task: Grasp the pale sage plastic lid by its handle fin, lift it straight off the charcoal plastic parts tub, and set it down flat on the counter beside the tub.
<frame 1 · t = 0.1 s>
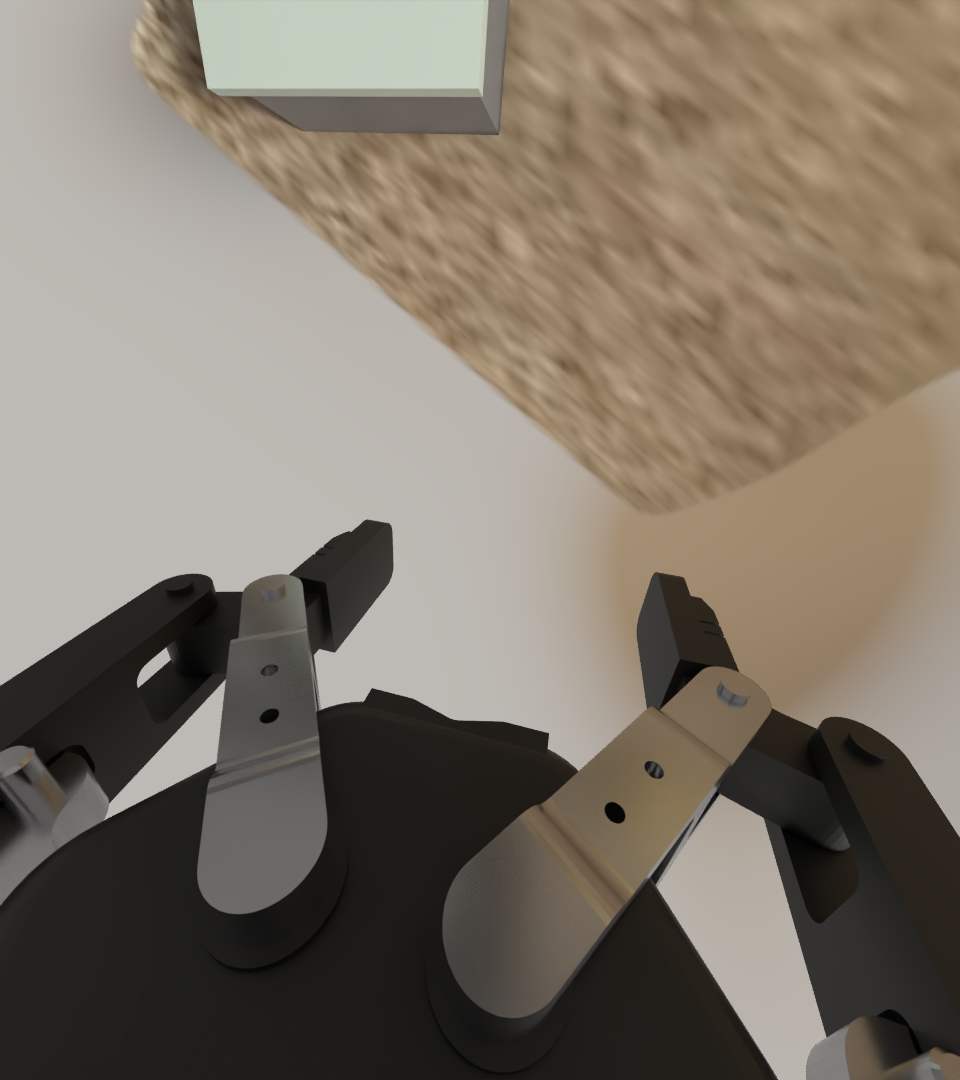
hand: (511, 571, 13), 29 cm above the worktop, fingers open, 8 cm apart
tub: (395, 17, 29), on the worktop
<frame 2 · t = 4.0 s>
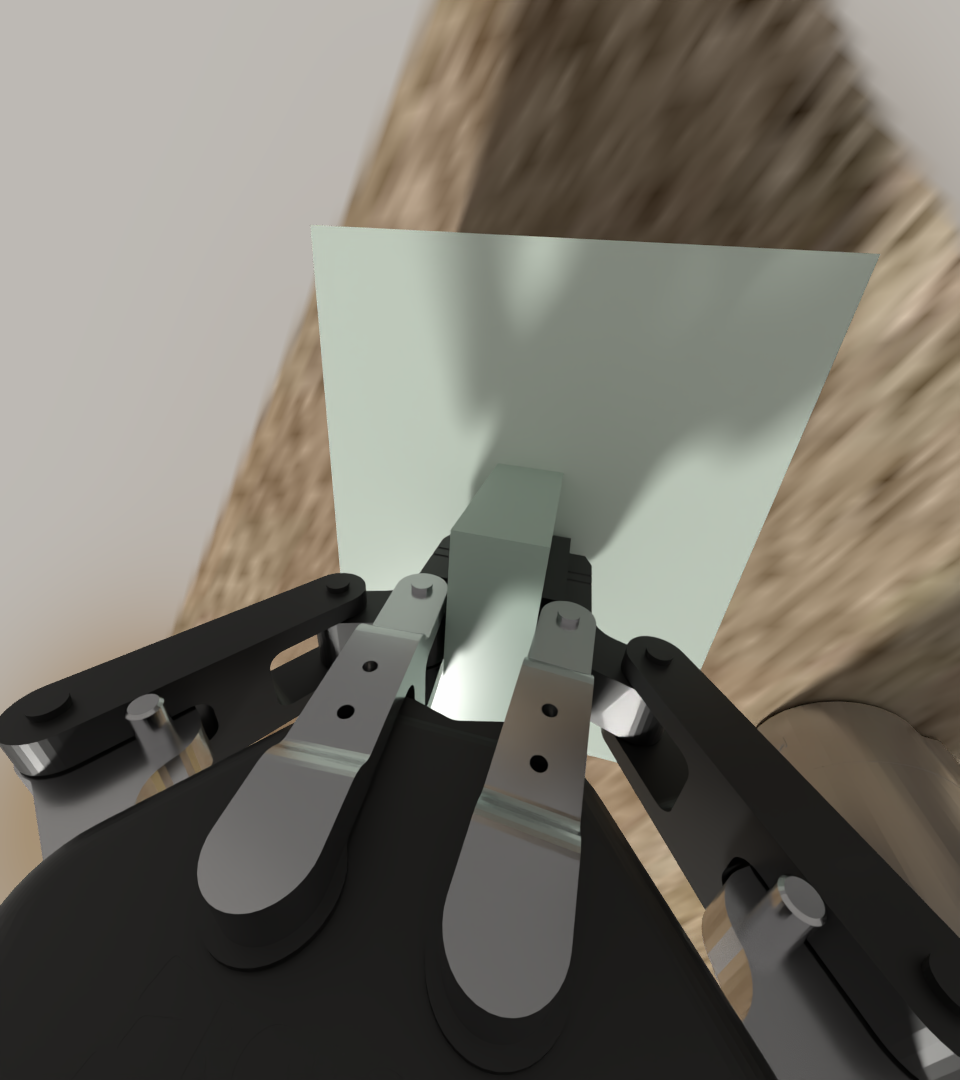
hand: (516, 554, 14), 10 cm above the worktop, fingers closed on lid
lid: (524, 534, 15), point 8 cm above the worktop, touching gripper
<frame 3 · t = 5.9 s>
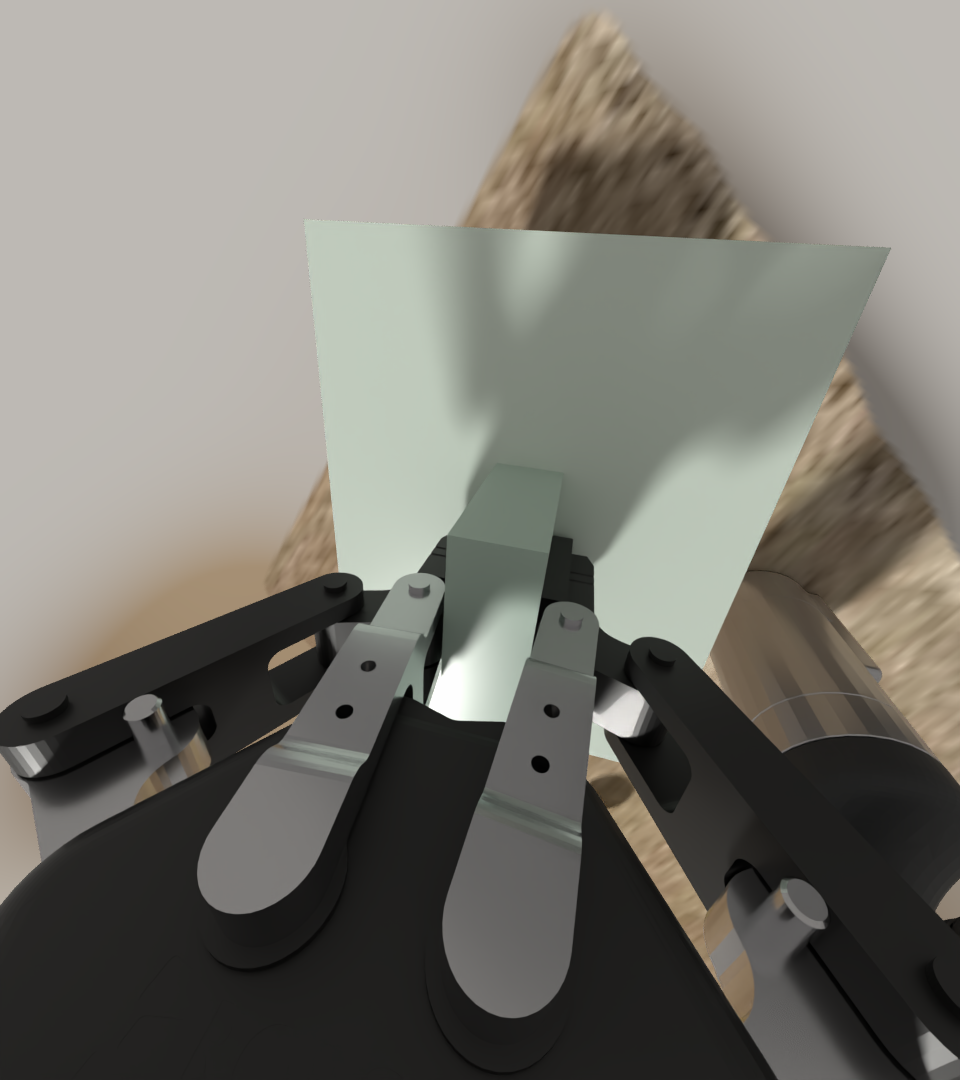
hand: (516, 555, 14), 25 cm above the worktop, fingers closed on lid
lid: (524, 534, 15), point 23 cm above the worktop, touching gripper
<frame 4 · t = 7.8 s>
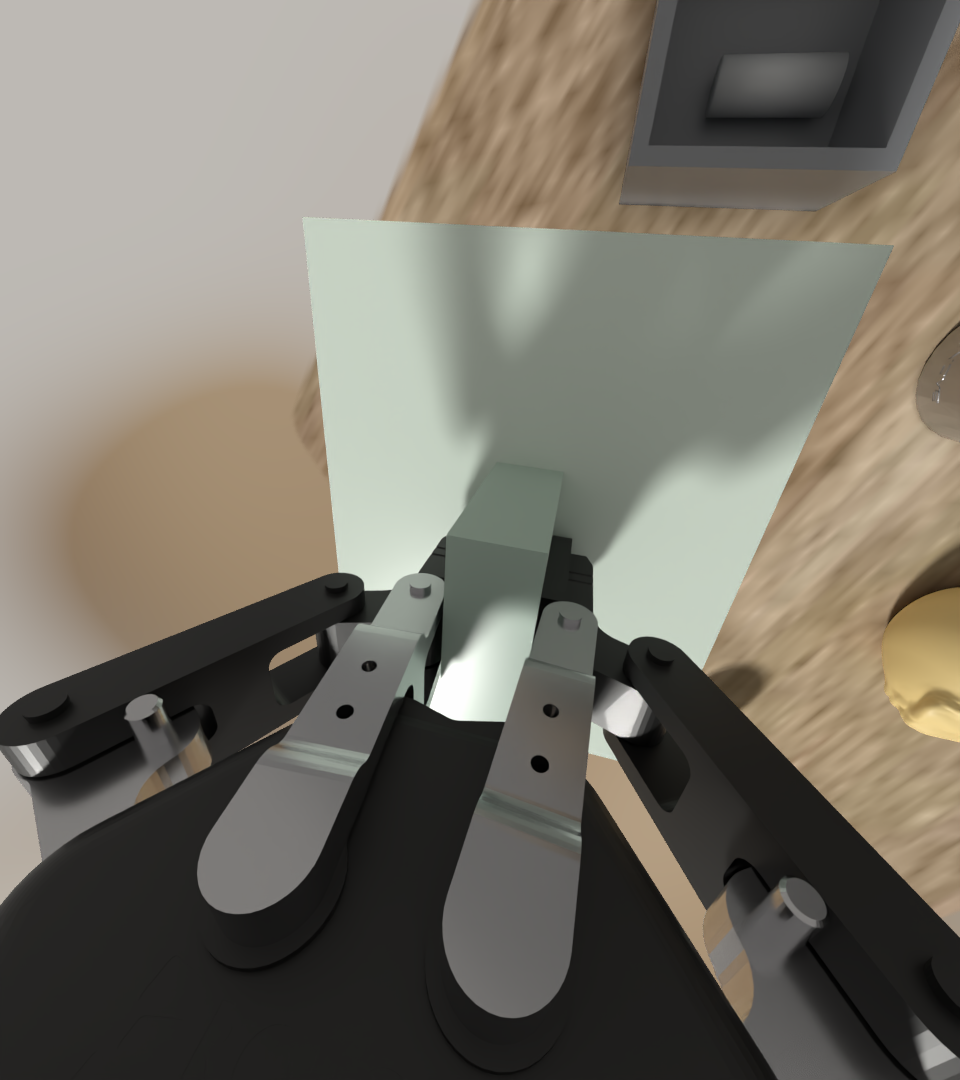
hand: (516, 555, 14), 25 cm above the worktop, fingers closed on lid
tub: (762, 27, 23), on the worktop
sculpture: (939, 626, 36), on the worktop
lid: (524, 533, 15), point 23 cm above the worktop, touching gripper
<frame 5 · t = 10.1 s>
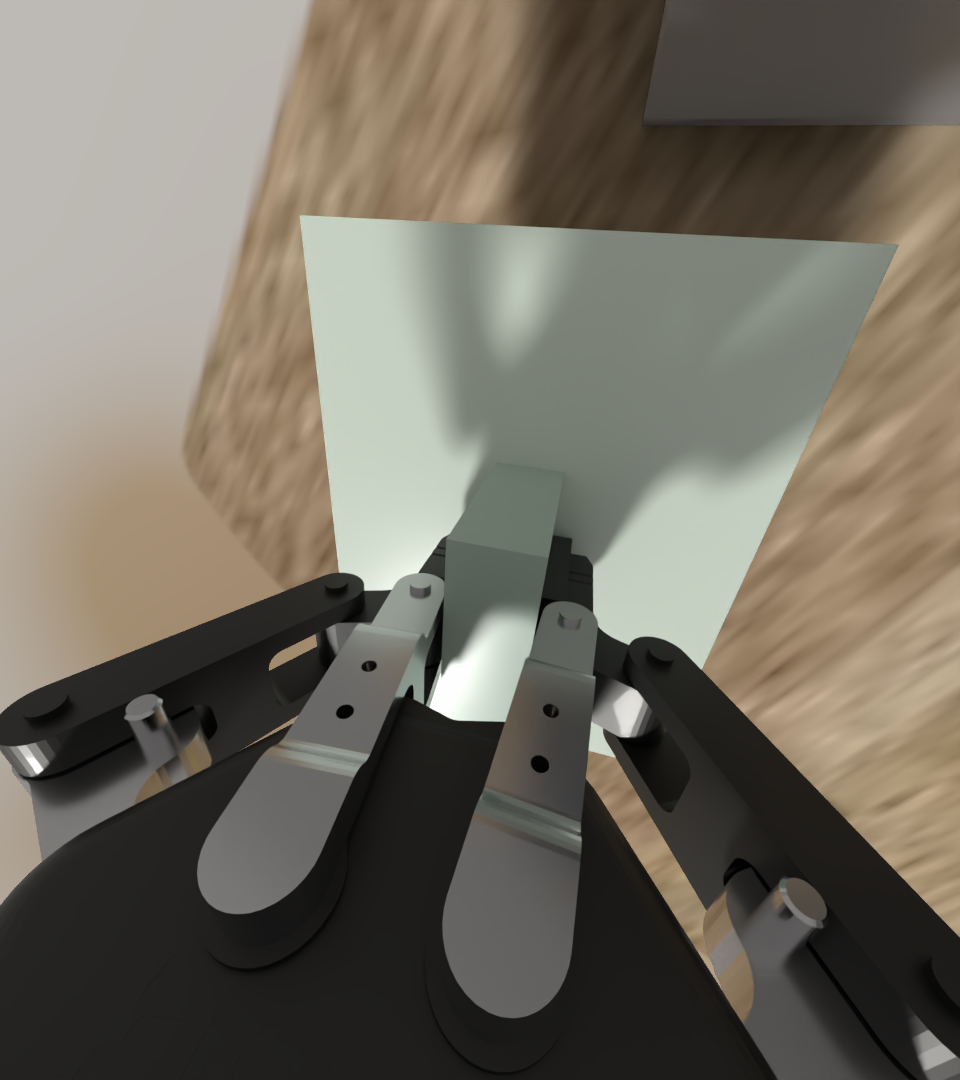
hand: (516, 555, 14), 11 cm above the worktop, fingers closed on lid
lid: (524, 532, 15), point 10 cm above the worktop, touching gripper
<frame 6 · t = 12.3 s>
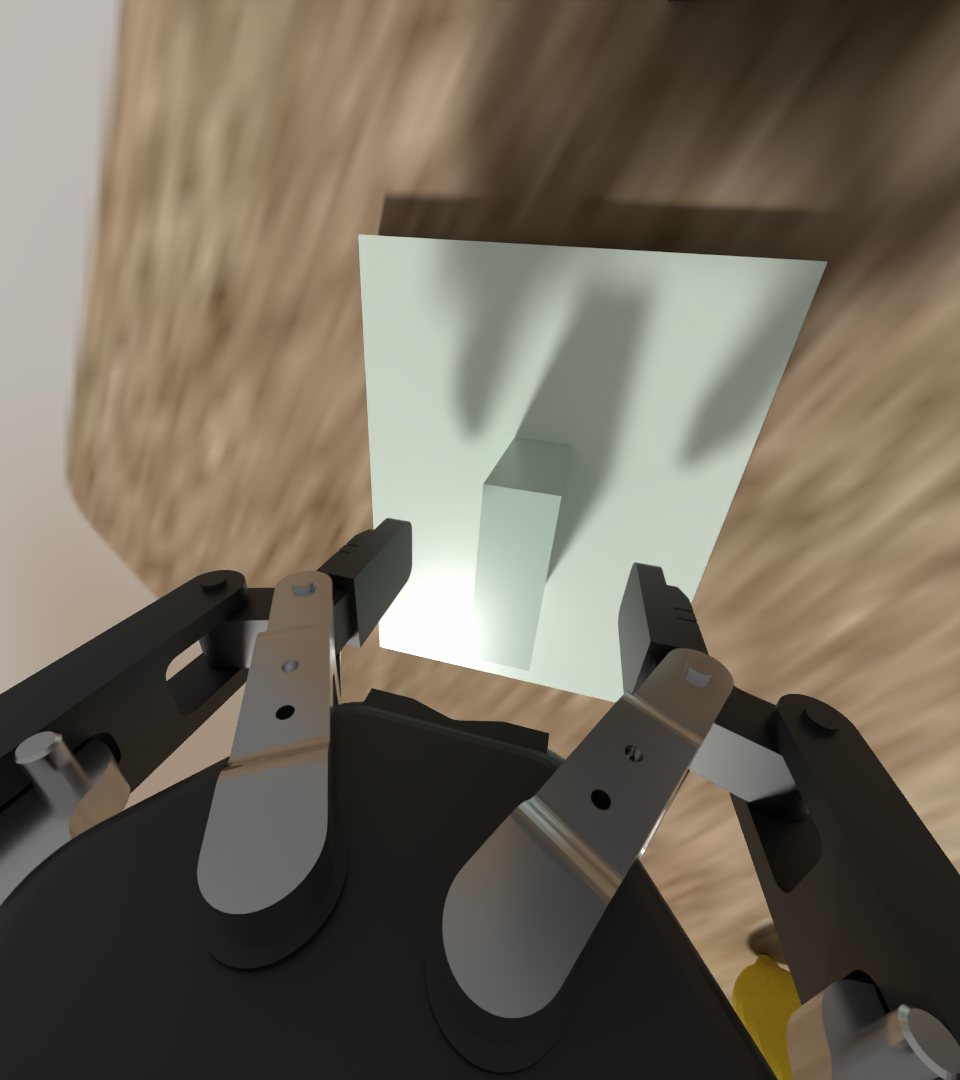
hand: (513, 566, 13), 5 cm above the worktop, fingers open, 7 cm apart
lemon: (763, 951, 28), on the worktop
lid: (535, 501, 18), on the worktop
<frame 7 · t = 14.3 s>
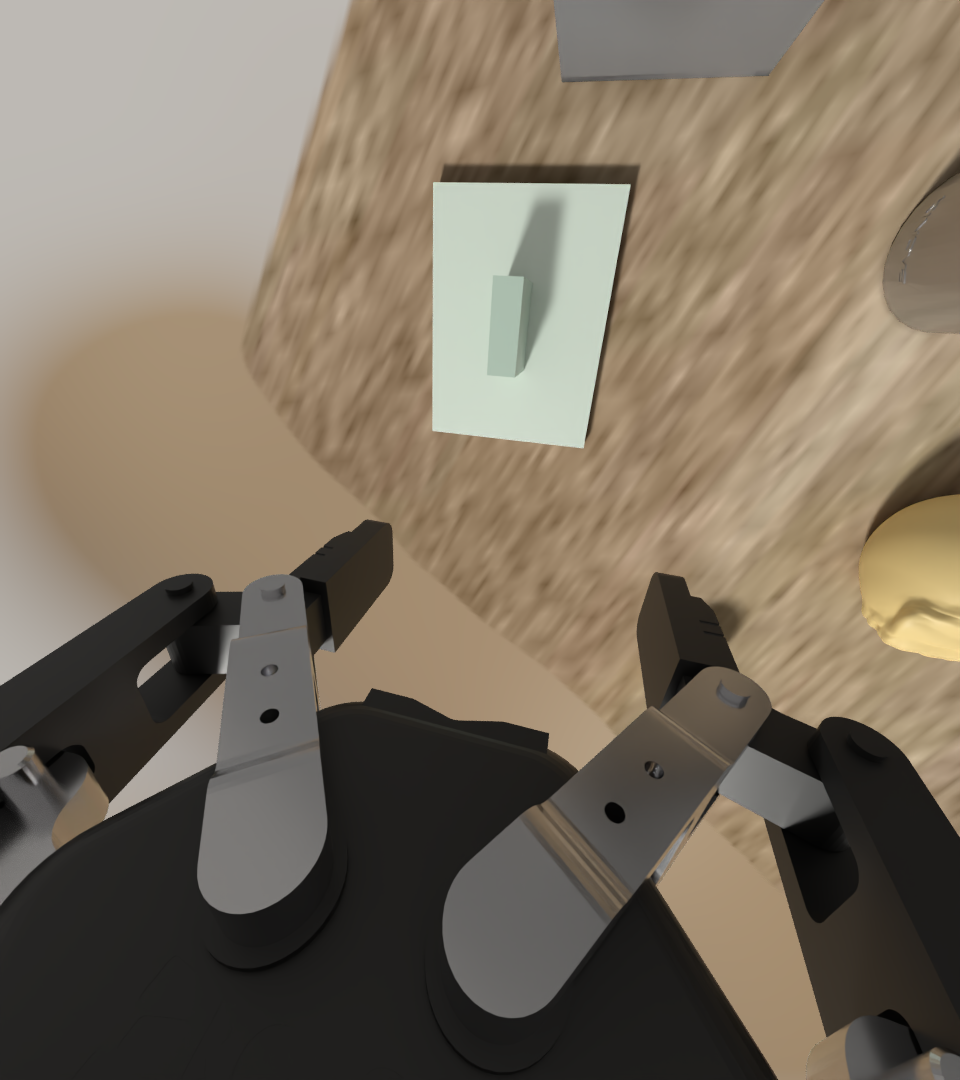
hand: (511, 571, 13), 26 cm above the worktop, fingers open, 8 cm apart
sculpture: (919, 546, 34), on the worktop
lid: (518, 327, 34), on the worktop
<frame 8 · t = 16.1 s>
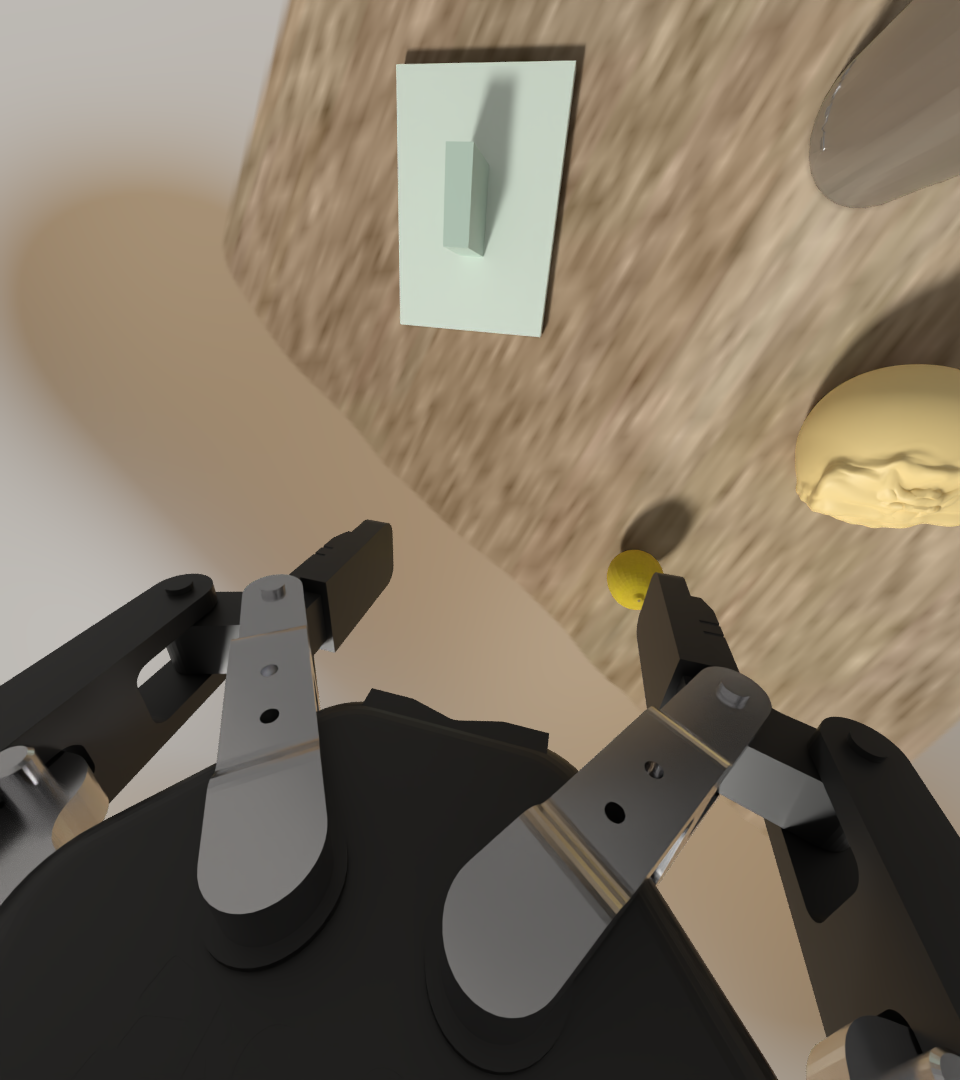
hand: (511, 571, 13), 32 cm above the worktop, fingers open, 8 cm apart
lemon: (631, 558, 47), on the worktop
sculpture: (853, 433, 36), on the worktop
lid: (479, 217, 36), on the worktop
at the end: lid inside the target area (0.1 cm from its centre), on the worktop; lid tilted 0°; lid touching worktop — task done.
